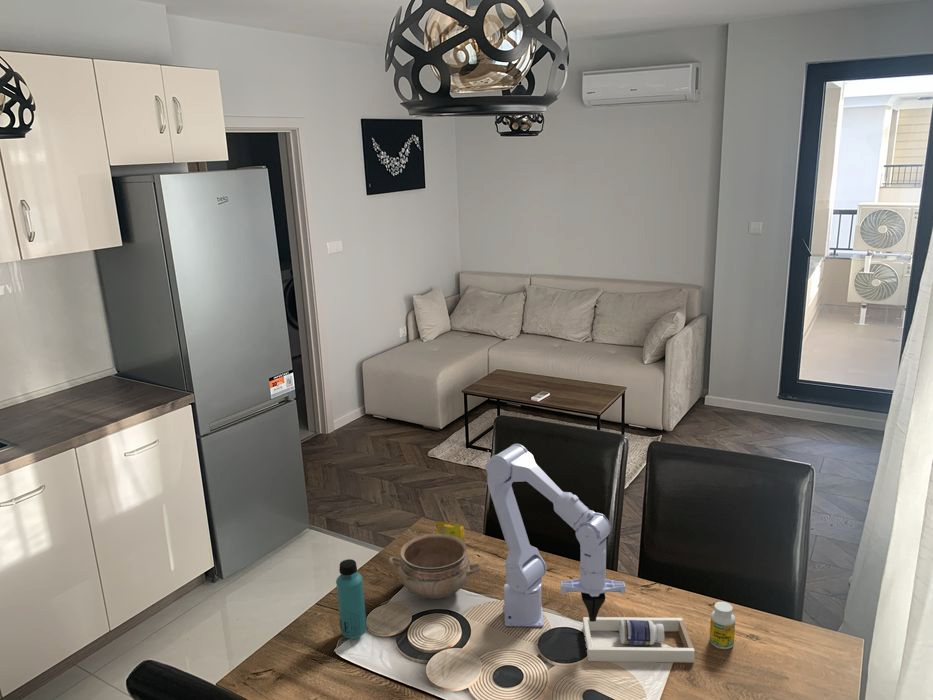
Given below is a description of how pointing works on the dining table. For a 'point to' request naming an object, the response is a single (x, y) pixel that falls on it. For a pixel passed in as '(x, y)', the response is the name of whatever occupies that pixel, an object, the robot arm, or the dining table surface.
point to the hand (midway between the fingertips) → (592, 618)
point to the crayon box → (451, 529)
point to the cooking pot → (434, 565)
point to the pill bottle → (640, 632)
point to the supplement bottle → (722, 626)
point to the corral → (638, 652)
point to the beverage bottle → (351, 600)
